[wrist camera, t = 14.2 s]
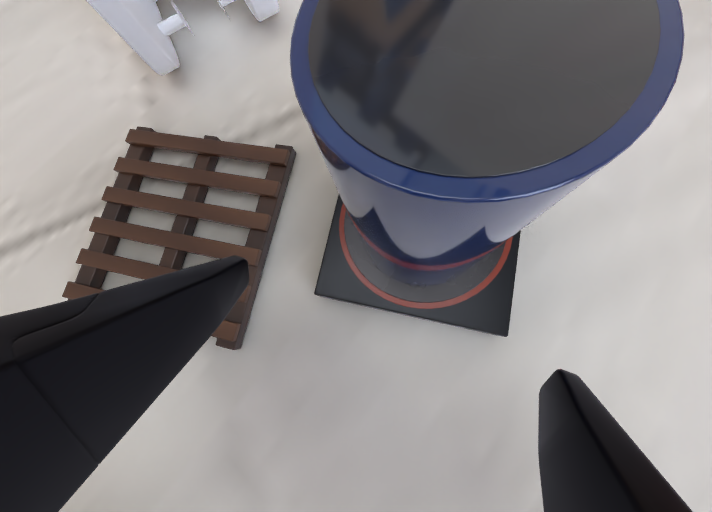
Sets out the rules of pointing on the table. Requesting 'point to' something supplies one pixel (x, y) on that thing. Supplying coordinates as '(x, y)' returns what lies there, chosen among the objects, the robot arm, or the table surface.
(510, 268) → the hot plate
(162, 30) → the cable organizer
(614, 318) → the table surface
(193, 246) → the rack
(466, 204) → the blue mug
